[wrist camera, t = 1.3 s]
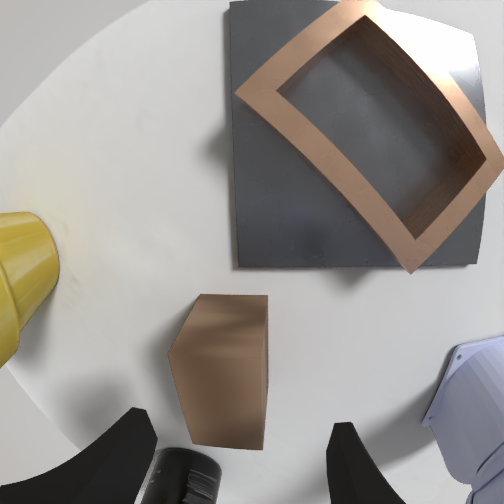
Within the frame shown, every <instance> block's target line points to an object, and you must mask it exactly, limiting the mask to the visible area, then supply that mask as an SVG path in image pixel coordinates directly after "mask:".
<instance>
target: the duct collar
mask: <svg viewBox="0 0 504 504" xmlns="http://www.w3.org/2000/svg"><path fill="white" fill-rule="evenodd" d="M230 50H231V88H232V120H233V148H234V174H235V198H236V220H237V241H238V261H239V267H362V266H403V267H404V268H405V269H406V270H407V271H408V272H409V273H410V274H412V273H413V272H414V271H415V270H416V269H417V268H418V267H419V266H422V265H462V264H477V259H478V254H479V248H480V242H481V235H482V228H483V220H484V211H485V199H486V192H487V190H488V189H489V188H490V186H491V185H492V184H493V182H494V181H495V180H496V179H497V177H498V176H499V175H500V173H501V172H502V170H503V169H504V157H503V155H502V153H501V151H500V149H499V148H498V146H497V144H496V142H495V140H494V139H493V137H492V135H491V134H490V132H489V130H488V129H487V127H486V114H485V103H484V94H483V87H482V80H481V74H480V68H479V62H478V57H477V52H476V48H475V43H474V39H473V35H471V34H468V33H466V32H463V31H461V30H458V29H455V28H453V27H450V26H447V25H444V24H441V23H438V22H435V21H432V20H428V19H425V18H421V17H418V16H414V15H410V14H406V13H402V12H398V11H393V10H389V9H385V8H384V7H383V6H381V5H380V4H379V3H378V2H376V1H375V0H342V1H340V2H337V1H325V0H245V1H234V2H230Z"/></svg>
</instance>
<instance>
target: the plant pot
mask: <svg viewBox="0 0 504 504" xmlns="http://www.w3.org/2000/svg"><path fill="white" fill-rule="evenodd" d="M58 276H59V258H58V252H57V248H56V245H55V242H54V240H53V237H52V235H51V233H50V231H49V230H48V228H47V226H46V225H45V224H44V223H43V221H42V220H41V219H40V218H39V217H37V216H36V215H34V214H32V213H30V212H14V213H0V368H1V367H2V366H3V365H4V364H5V363H6V362H7V361H8V360H9V359H10V358H11V357H12V356H13V355H14V353H15V352H16V351H17V349H18V345H19V340H20V332H21V331H22V330H23V328H24V327H25V325H26V324H27V323H28V321H29V320H30V318H31V317H32V316H33V314H34V313H35V312H36V310H37V309H38V307H39V306H40V305H41V303H42V302H43V301H44V300H45V298H46V297H47V296H48V295H49V293H50V292H51V291H52V290H53V288H54V287H55V285H56V283H57V280H58Z"/></svg>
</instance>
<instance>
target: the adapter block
mask: <svg viewBox="0 0 504 504" xmlns="http://www.w3.org/2000/svg"><path fill="white" fill-rule="evenodd" d="M168 358H169V362H170V366H171V370H172V374H173V378H174V382H175V385H176V389H177V393H178V396H179V400H180V404H181V407H182V410H183V414H184V417H185V421H186V424H187V427H188V430H189V433H190V436H191V440H192V443H193V444H197V445H205V446H213V447H222V448H233V449H246V450H263V442H264V430H265V419H266V406H267V394H268V295H217V294H200V296H199V298H198V300H197V301H196V303H195V305H194V307H193V308H192V310H191V312H190V314H189V316H188V317H187V319H186V321H185V323H184V325H183V326H182V328H181V330H180V332H179V334H178V335H177V337H176V339H175V341H174V343H173V344H172V346H171V348H170V350H169V352H168Z"/></svg>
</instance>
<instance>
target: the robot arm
mask: <svg viewBox="0 0 504 504" xmlns="http://www.w3.org/2000/svg"><path fill="white" fill-rule="evenodd" d="M458 355H459V356H458ZM421 425H422V427H423V428H426V427H430V426H431V428H432V431H433V433H434V436H435V438H436V441H437V443H438V446H439V448H440V451H441V454H442V456H443V459H444V461H445V464H446V467H447V469H448V471H449V473H450V474H451V476H452V477H453V478H454V479H456V480H457V481H459V482H461V483H463V484H471V486H472V489H473V490H472V491H471V492H470V494H469V495H468V498H467V500H466V504H504V336H500V337H495V338H491V339H486V340H481V341H476V342H471V343H466V344H461V345H458V346H457V347H456V348H455V350H454V352H453V355H452V358H451V360H450V363H449V365H448V368H447V370H446V373H445V375H444V377H443V380H442V382H441V384H440V387H439V389H438V391H437V393H436V395H435V397H434V399H433V402H432V404H431V406H430V408H429V410H428V412H427V414H426V416H425V417H424V419H423V421H422V423H421ZM157 440H158V438H157V436H156V433H155V431H154V429H153V426H152V424H151V421H150V419H149V417H148V414H147V412H146V410H144V409H139V408H135V407H132V408H131V409H130V410H129V411H128V412H126V413H125V414H124V415H123V416H122V417H121V418H120V419H119V420H118V421H117V422H116V423H115V424H114V425H113V426H111V427H110V428H109V429H108V430H107V431H106V432H105V433H104V434H102V435H101V436H100V437H99V438H98V439H97V440H95V441H94V442H93V443H92V444H91V445H89V446H88V447H87V448H85V449H84V450H83V451H81V452H80V453H79V454H77V455H76V456H74V457H73V458H71V459H70V460H68V461H67V462H65V463H63V464H61V465H60V466H58V467H56V468H54V469H52V470H50V471H48V472H46V473H43V474H41V475H38V476H36V477H33V478H30V479H27V480H24V481H20V482H16V483H12V484H7V485H1V487H0V504H134V502H135V500H136V497H137V495H138V492H139V490H140V487H141V485H142V483H143V480H144V478H145V476H146V473H147V471H148V469H149V466H150V464H151V461H152V459H153V455H154V452H155V448H156V444H157ZM326 462H327V478H328V485H329V492H330V499H331V504H406V503H405V502H404V501H403V500H402V499H401V498H400V497H399V495H398V494H397V493H396V492H395V491H394V490H393V488H392V487H391V486H390V485H389V483H388V482H387V481H386V479H385V478H384V477H383V475H382V474H381V472H380V471H379V469H378V468H377V466H376V465H375V463H374V462H373V460H372V459H371V457H370V455H369V454H368V452H367V450H366V449H365V447H364V445H363V443H362V441H361V439H360V438H359V436H358V434H357V432H356V430H355V428H354V425H353V423H351V422H342V423H334V427H333V430H332V434H331V437H330V440H329V444H328V447H327V450H326Z"/></svg>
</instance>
